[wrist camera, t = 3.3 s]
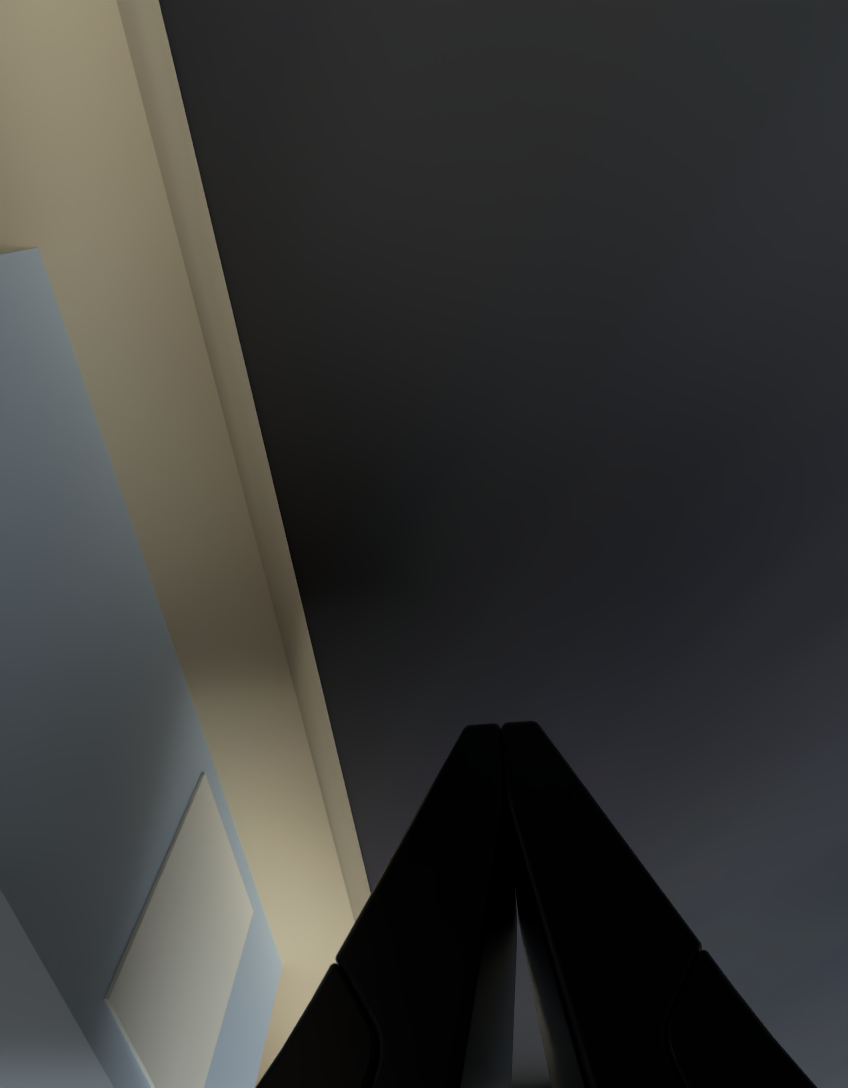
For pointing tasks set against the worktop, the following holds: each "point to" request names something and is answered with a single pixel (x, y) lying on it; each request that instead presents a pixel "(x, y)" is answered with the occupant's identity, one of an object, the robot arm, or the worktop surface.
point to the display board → (182, 441)
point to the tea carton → (104, 770)
